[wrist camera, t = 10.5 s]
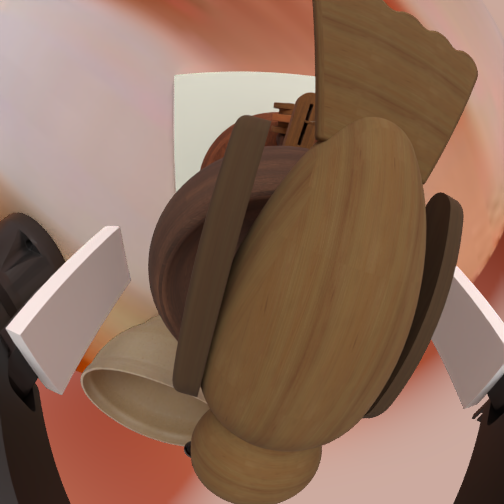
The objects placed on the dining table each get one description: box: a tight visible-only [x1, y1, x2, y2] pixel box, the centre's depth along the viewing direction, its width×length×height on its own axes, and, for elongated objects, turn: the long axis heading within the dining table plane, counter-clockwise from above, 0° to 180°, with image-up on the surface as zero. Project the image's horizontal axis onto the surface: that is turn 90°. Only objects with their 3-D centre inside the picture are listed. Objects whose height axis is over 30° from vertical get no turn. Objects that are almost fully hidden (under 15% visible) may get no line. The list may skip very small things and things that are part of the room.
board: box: [174, 72, 315, 192], centre depth 21 cm, size 16×18×1 cm
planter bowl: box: [81, 315, 210, 446], centre depth 26 cm, size 16×16×11 cm
